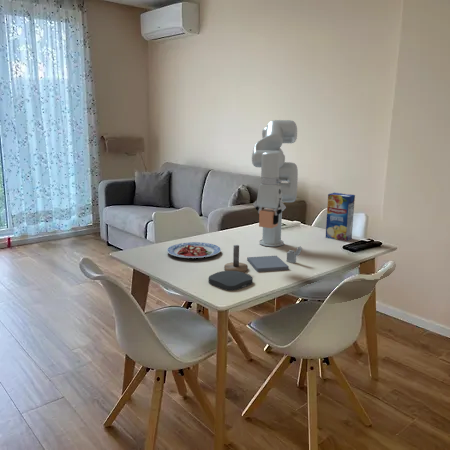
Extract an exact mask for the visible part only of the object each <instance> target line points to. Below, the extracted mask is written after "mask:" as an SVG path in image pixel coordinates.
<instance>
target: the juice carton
mask: <svg viewBox="0 0 450 450" xmlns="http://www.w3.org/2000/svg"><path fill="white" fill-rule="evenodd" d="M355 198H356V195H355V194H350V193H342V192H332V193H331V192H330V193H328V194H327V206H326V207H327V208H326V223H325V224H326V225H325V238H326V239H332V240H337V241H342V242H347V241H349V240H351V239H352V238H353V228H354V227H353V225H354V224H353V223H354V212H355V201H356V200H355Z"/></svg>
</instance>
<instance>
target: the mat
mask: <svg viewBox="0 0 450 450" xmlns="http://www.w3.org/2000/svg"><path fill="white" fill-rule="evenodd" d="M246 261H247V262H248V263H249V264H250V266H251V267H253V269H254V270H255V271H256V273H257V272H258V273H260V272H274V271H276V272H277V271H288V270H289V269H290V267H289V265H288V264H287V263H286V262H285V261H283V260H282V259H281V258H280V257H279V256H278V255H266V256H265V255H264V256H250V257H249V256H248V257H247V259H246Z"/></svg>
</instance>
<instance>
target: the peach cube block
mask: <svg viewBox="0 0 450 450" xmlns="http://www.w3.org/2000/svg"><path fill="white" fill-rule="evenodd" d="M274 215H275V214H274V211H273V209H263V210H260V211H259V213H258V227H259V228H263V227H266V228H274V227H276V226H278V223H277V224H275V225H274V224H273V218H274Z"/></svg>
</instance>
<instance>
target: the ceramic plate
mask: <svg viewBox="0 0 450 450" xmlns="http://www.w3.org/2000/svg"><path fill="white" fill-rule="evenodd" d="M221 250H222V249H221V247H220V246H218V245H216V244H213V243H208V242H197V241H190V242H181V243H177V244H173V245H171V246H168V247H167V248H166V252H167V253H168V254H169V255H170V256H174V257H177V258H183V259H189V258H192V259H193V260H195V259H196V258H198V259H204V257H205V258H208V257H209V258H210V257H213V256H215V255H216V256H217V255H218V254H220V252H221ZM194 258H195V259H194ZM192 259H191V260H192Z"/></svg>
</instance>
